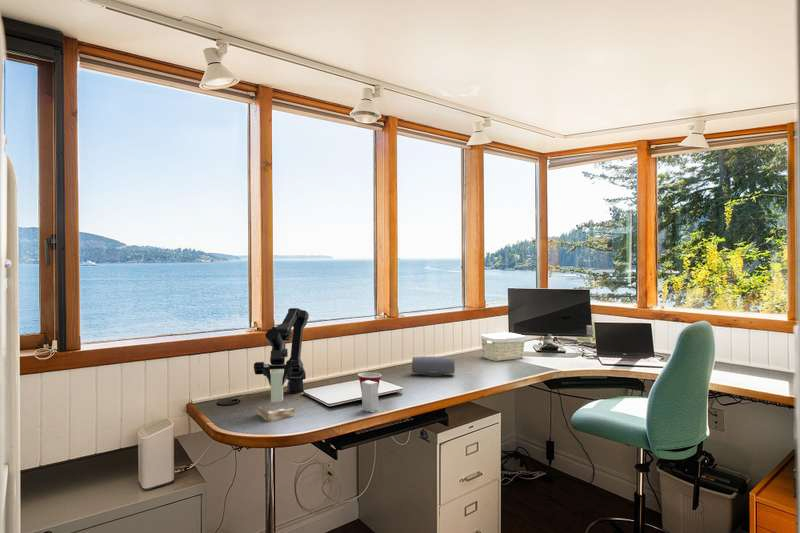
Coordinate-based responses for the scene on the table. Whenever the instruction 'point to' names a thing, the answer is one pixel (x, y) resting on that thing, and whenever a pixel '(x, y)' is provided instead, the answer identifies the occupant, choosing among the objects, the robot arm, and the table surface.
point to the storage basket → (502, 346)
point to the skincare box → (370, 396)
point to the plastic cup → (369, 377)
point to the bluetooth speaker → (433, 365)
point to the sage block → (276, 386)
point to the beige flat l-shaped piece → (275, 414)
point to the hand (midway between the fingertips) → (276, 385)
